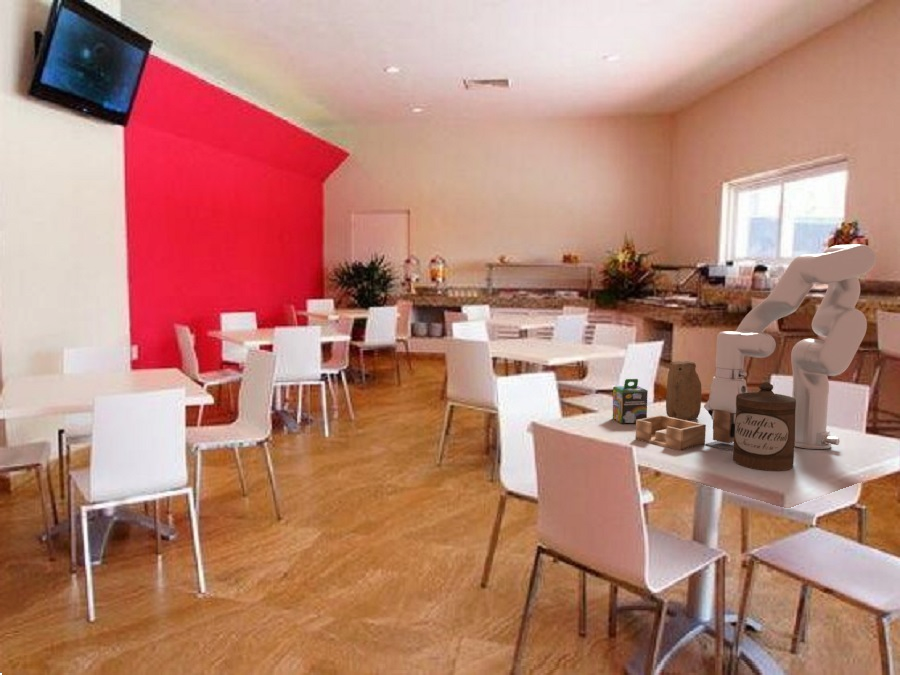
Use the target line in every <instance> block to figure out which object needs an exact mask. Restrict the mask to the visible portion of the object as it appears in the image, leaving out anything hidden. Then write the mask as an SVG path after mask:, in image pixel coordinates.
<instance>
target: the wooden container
mask: <svg viewBox="0 0 900 675" xmlns="http://www.w3.org/2000/svg"><path fill="white" fill-rule="evenodd" d="M758 389H759V391H758V392H747V393H741V394H738V395H737V396H736V419H735V431H734V442H733V443H734V450H732V451H733V454H732V459H733V462H734V463H736V464H738V465H740V466H743V467H745V468H750V469H753V470H754V469H755V470H760V471H771V472H773V471H774V472H775V471H776V472H779V471H787V470H790V469H792V468H794V461H795V460H794V458H795V448H796V447H795V410H796V399H795V398H793V397H792V396H790V395H785V394H781V393H780V394H779V393H774V391H773V390H774V385H773V384H771V383H770V382H762V383H760V384H759V386H758Z"/></svg>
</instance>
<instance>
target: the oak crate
mask: <svg viewBox="0 0 900 675" xmlns="http://www.w3.org/2000/svg"><path fill="white" fill-rule="evenodd" d="M706 425H707V424H705V423H699V422H694V421H690V420H681V419H677V418H672V417H669V416H668V415H667V416H666V415H663V414H661V415H660V414H659V415H654V416H650V417H648V416H647V418H643V419H638V420H636V424H635V438H634V439H635V440H637V439H639V440H638V441H641V440H643V441H642V442H645V441H646V443H649V442H650V443H649V444H654V445H657V446H661V447H664V448H669V449H673V450H677V451H684V450H688V449H693V448H696V447H700V446H704V445H705V444H706V432H707V431H706V427H707V426H706ZM705 446H706V445H705Z"/></svg>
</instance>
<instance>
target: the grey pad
mask: <svg viewBox="0 0 900 675" xmlns="http://www.w3.org/2000/svg"><path fill="white" fill-rule="evenodd" d="M705 446H707V447H708V446H709V447H712V448H716V449H720V450H724V451H729V452H731V451H733V450H734V442H732V443H725V442H720V441H716V440H713V441H711V442H707V443H706V442H705Z"/></svg>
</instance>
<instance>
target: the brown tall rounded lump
mask: <svg viewBox="0 0 900 675" xmlns="http://www.w3.org/2000/svg"><path fill="white" fill-rule="evenodd" d="M696 368H697V365H696V363H695V361H689V360H685V361H682V360H681V361H680V360H679V361H671V362H669V364H668V369H669V370H668V373H667V382H666V395H665V413H666V415H667V417H672V418H677V419H681V420H686V421H690V420H696V419H697V418H699V416H700V413H701V407H702V382H701V380H700V377H699V375H698V373H697V370H696Z"/></svg>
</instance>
